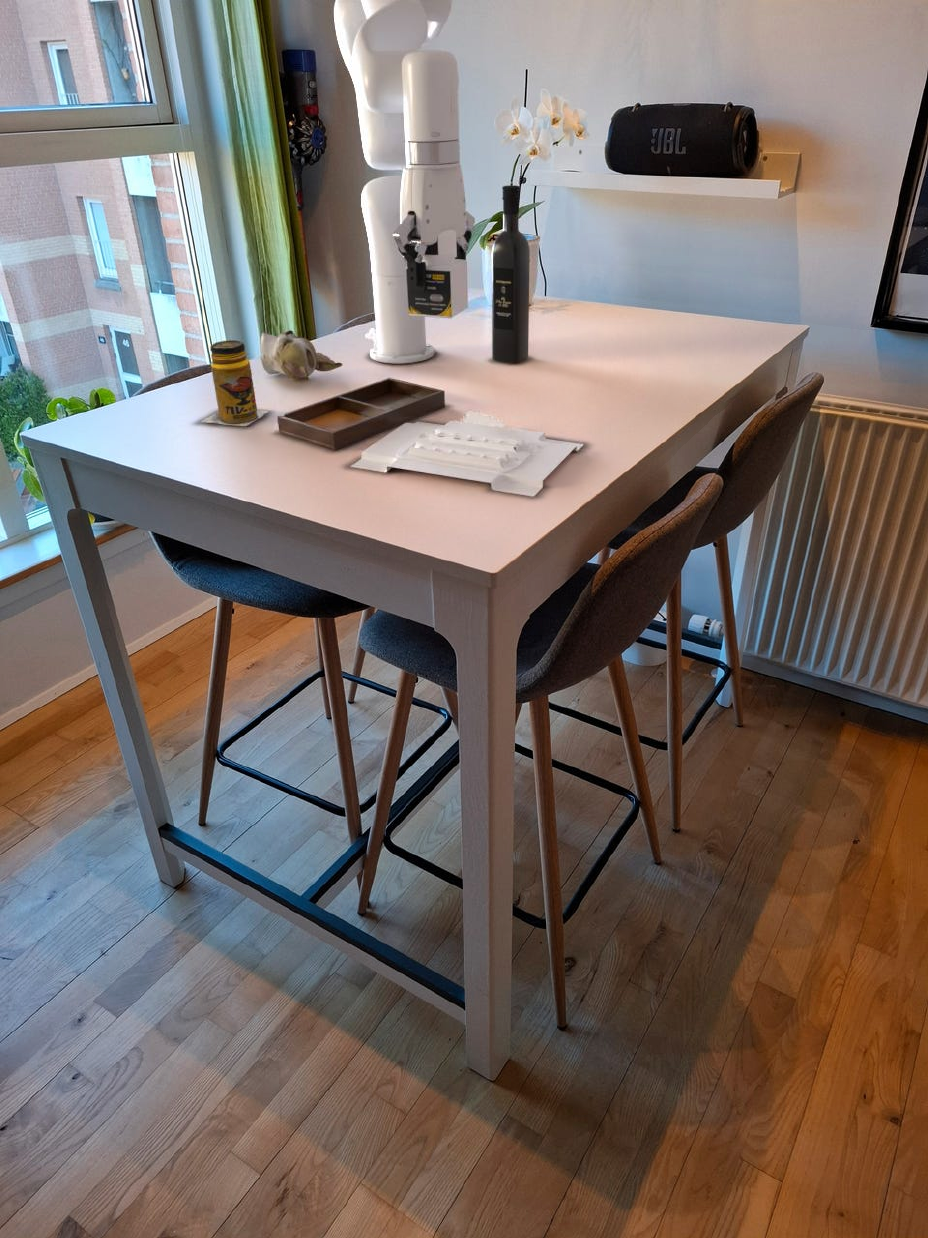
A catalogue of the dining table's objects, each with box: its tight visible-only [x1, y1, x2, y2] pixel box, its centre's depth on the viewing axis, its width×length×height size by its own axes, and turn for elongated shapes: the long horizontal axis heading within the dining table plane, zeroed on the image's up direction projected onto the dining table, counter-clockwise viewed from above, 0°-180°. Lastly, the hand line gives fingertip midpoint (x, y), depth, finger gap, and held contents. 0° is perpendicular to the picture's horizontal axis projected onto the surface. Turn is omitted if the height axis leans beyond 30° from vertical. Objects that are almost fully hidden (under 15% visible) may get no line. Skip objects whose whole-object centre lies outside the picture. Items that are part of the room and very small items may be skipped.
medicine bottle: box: [406, 230, 469, 319], centre depth 132 cm, size 7×7×12 cm
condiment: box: [200, 339, 269, 427], centre depth 141 cm, size 7×8×12 cm
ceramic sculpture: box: [259, 330, 343, 383], centre depth 161 cm, size 11×9×15 cm
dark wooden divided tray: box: [276, 377, 446, 451], centre depth 141 cm, size 13×25×3 cm, turn 140°
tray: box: [349, 409, 584, 497], centre depth 127 cm, size 20×28×4 cm
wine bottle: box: [491, 184, 531, 364], centre depth 162 cm, size 6×6×30 cm
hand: (437, 283), depth 133 cm, fingers closed on medicine bottle, 8 cm apart
